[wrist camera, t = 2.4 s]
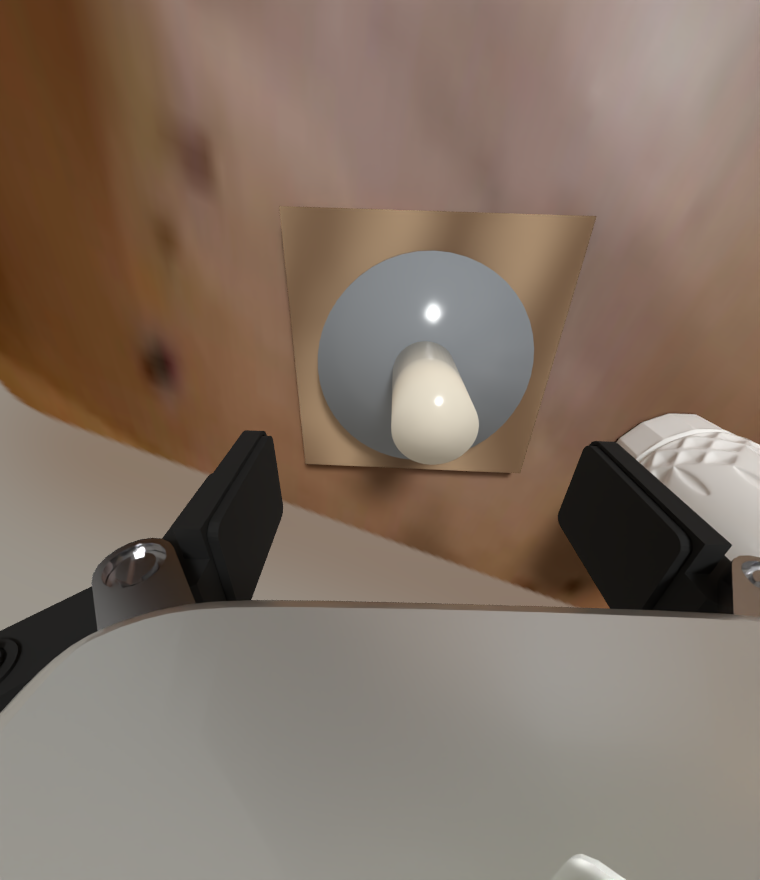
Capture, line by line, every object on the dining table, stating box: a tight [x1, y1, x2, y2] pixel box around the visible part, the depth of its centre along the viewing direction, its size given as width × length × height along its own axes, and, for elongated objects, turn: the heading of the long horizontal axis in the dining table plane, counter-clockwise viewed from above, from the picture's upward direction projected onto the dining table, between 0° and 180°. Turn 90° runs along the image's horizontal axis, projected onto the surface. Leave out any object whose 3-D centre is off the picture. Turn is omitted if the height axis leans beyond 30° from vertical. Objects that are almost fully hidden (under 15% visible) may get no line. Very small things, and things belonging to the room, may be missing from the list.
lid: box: [318, 250, 534, 465], centre depth 16 cm, size 11×11×7 cm
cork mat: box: [279, 206, 596, 473], centre depth 19 cm, size 14×14×1 cm
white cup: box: [616, 414, 760, 561], centre depth 18 cm, size 8×8×10 cm
